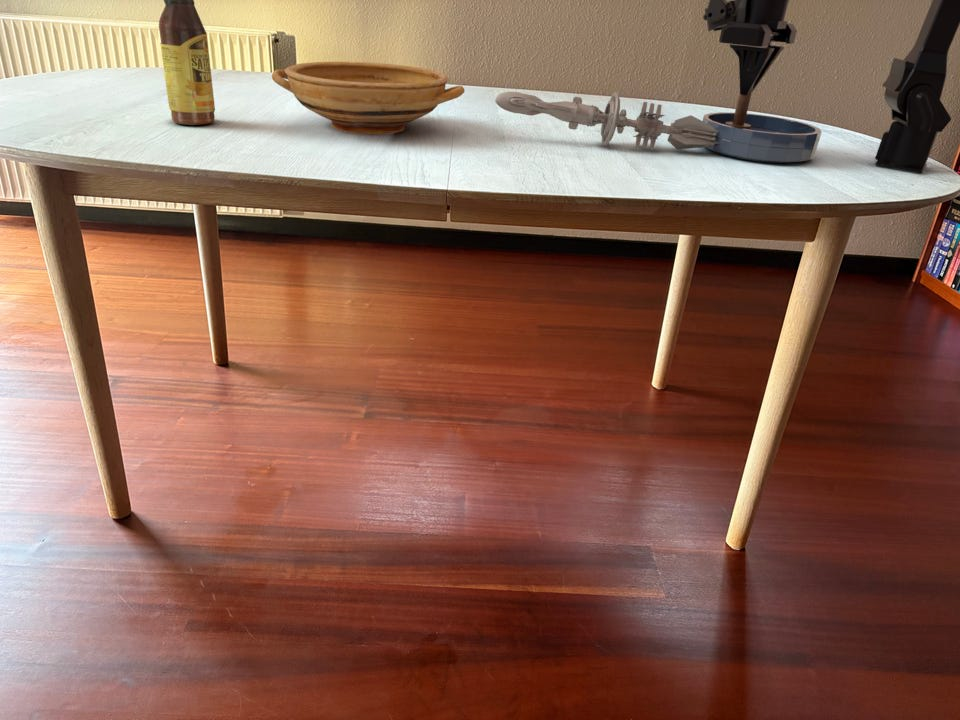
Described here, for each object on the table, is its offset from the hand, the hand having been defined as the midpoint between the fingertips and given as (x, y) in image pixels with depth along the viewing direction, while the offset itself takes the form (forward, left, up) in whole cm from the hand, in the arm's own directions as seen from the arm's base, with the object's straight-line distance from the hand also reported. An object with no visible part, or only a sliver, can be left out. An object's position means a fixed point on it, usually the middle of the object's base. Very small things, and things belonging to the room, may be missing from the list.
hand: (745, 94), depth 107 cm
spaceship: (+14, +17, -8) cm, 24 cm away
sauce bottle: (+63, +56, -8) cm, 84 cm away
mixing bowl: (-3, 0, -8) cm, 9 cm away
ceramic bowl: (+46, +37, -8) cm, 59 cm away
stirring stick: (0, 0, -6) cm, 6 cm away
